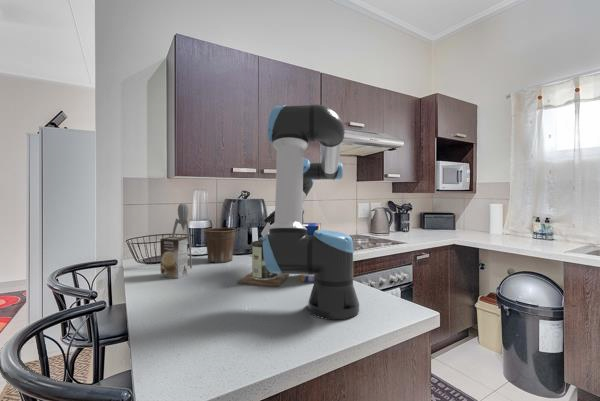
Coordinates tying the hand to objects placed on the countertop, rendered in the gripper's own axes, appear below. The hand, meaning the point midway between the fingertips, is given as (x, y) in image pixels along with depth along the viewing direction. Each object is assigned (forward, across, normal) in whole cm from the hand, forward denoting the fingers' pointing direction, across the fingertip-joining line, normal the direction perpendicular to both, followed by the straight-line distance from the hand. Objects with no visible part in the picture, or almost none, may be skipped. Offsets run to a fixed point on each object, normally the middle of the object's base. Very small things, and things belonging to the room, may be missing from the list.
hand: (275, 237), depth 126 cm
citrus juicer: (+20, +45, -3) cm, 49 cm away
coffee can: (+16, 0, -6) cm, 17 cm away
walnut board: (+16, 0, -6) cm, 18 cm away
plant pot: (+7, +40, -16) cm, 44 cm away
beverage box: (+8, -15, -15) cm, 23 cm away
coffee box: (+29, +35, +6) cm, 46 cm away
